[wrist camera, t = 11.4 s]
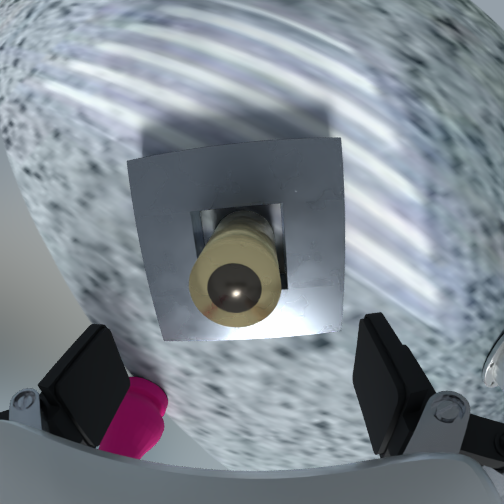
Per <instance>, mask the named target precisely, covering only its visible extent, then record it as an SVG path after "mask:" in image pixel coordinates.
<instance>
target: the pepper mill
mask: <svg viewBox="0 0 504 504" xmlns="http://www.w3.org/2000/svg"><path fill="white" fill-rule="evenodd" d="M129 379H130V387H129V389H128V391H127V393H126V395H125V397H124V399H123V401H122V403H121V404H120V406H119V408H118V410H117V412H116V414H115V416H114V418H113V420H112V422H111V424H110V426H109V427H108V429H107V431H106V433H105V435H104V437H103V439H102V441H101V443H100V447H99V450H102V451H106V452H110V453H114V454H118V455H122V456H126V457H131V458H135V459H141V457H142V456H143V455H144V454H145V453H146V452H147V451H149V450H150V449H151V448H152V447H153V446H154V445H155V444H156V443H157V442H158V441H159V439H160V437H161V436H162V433H163V431H164V421H163V418H162V417H163V416H164V414H165V411H166V408H167V405H168V399H167V397H166V394H165V393H164V392H163V390H162V389H161V388H160V387H158V386H157V385H156V384H154V383H153V382H151V381H149V380H146V379H144V378H140V377H129Z"/></svg>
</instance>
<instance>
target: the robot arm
mask: <svg viewBox="0 0 504 504" xmlns="http://www.w3.org/2000/svg"><path fill="white" fill-rule="evenodd" d="M482 380H483V382H484V383H485V385H486V386H487V387H496V386H500V388H501V389H502V390H503V391H504V334H503V335H502V337H501V338H500V339H499V341H498V342H497V343H496V345H495V346H494V348H493V349H492V351H491V353H490V355H489V357H488V358H487V361H486V363H485V366H484V369H483V373H482ZM353 385H354V388H355V391H356V394H357V397H358V401H359V404H360V407H361V410H362V414H363V417H364V420H365V423H366V427H367V430H368V434H369V437H370V441H371V444H372V448H373V451H374V453H375V454H376V455H377V454H380V459H374V460H368V461H362V462H356V463H350V464H343V465H336V466H328V467H319V468H308V469H296V470H278V471H231V470H213V469H201V468H191V467H183V466H175V465H167V464H162V463H155V462H150V461H145V460H140V459H135V458H131V457H126V456H122V455H118V454H114V453H110V452H106V451H102V450H99V449H95V448H96V446H99V445H100V443H101V441H102V439H103V437H104V435H105V433H106V431H107V429H108V427H109V426H110V424H111V422H112V420H113V418H114V416H115V414H116V412H117V410H118V408H119V406H120V404H121V403H122V401H123V399H124V397H125V395H126V393H127V391H128V389H129V387H130V379H129V377H128V374H127V372H126V369H125V367H124V364H123V362H122V360H121V357H120V355H119V352H118V349H117V347H116V344H115V342H114V339H113V336H112V333H111V331H110V329H108V328H107V327H106V326H105V325H102V324H91V325H90V326H89V327H88V328H87V329H86V330H85V331H84V333H83V334H82V335H81V336H80V337H79V338H78V339H77V340H76V341H75V342H74V343H73V345H72V346H71V347H70V348H69V349H68V350H67V351H66V353H65V354H64V355H63V356H62V357H61V358H60V359H59V361H58V362H57V363H56V364H55V365H54V366H53V367H52V369H51V370H50V371H49V372H48V373H47V374H46V376H45V377H44V378H43V379H42V380H41V381H40V383H39V384H38V386H39V388H40V390H41V391H42V392H41V393H40V394H39V393H38V392H37V390H35V389H33V388H26V389H22V390H20V391H19V392H17V393H16V394H15V395H14V396H13V397H12V399H11V401H10V406H9V410H6V411H3V412H0V504H504V423H500V422H497V421H493V420H490V419H486V418H483V417H479V416H476V415H473V414H470V405H469V402H468V401H467V400H466V398H465V397H463V396H462V395H461V394H459V393H456V392H453V391H441V392H438V393H436V392H435V390H434V388H433V387H432V385H431V383H430V382H429V380H428V378H427V377H426V375H425V373H424V372H423V370H422V368H421V367H420V365H419V364H418V362H417V360H416V359H415V357H414V356H413V354H412V352H411V351H410V349H409V348H408V347H407V345H402V343H401V342H400V340H399V339H398V337H397V335H396V334H395V332H394V331H393V329H392V328H391V326H390V325H389V323H388V321H387V320H386V318H385V317H384V315H383V314H382V313H381V312H379V313H372V314H366V315H365V317H364V319H360V322H359V331H358V340H357V348H356V356H355V363H354V370H353Z"/></svg>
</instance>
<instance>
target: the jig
mask: <svg viewBox="0 0 504 504" xmlns="http://www.w3.org/2000/svg"><path fill="white" fill-rule="evenodd" d="M127 167H128V175H129V182H130V189H131V196H132V203H133V209H134V215H135V221H136V226H137V232H138V237H139V242H140V247H141V252H142V257H143V262H144V266H145V271H146V275H147V279H148V284H149V288H150V292H151V296H152V300H153V304H154V307H155V311H156V315H157V319H158V322H159V326H160V329H161V333H162V336H163V340H164V341H215V340H241V339H259V338H274V337H287V336H298V335H309V334H319V333H328V332H336V331H341V329H342V315H343V297H344V270H345V204H344V178H343V160H342V146H341V138H300V139H282V140H267V141H255V142H244V143H235V144H226V145H217V146H210V147H202V148H195V149H188V150H182V151H176V152H170V153H164V154H159V155H153V156H148V157H143V158H138V159H133V160H129V161H127ZM277 203H281V216H282V231H283V246H284V263H285V274H280V279H281V295H280V299H279V302H278V304H277V306H276V307H275V309H274V310H273V312H272V313H271V314H270V315H269V316H268V317H267V318H265V319H264V320H262V321H261V322H259V323H257V324H254V325H251V326H247V327H240V328H236V327H227V326H223V325H220V324H217V323H215V322H213V321H211V320H210V319H208V318H207V317H205V316H204V315H203V314H202V313H201V312H200V311H199V310H198V308H197V307H196V306H195V304H194V302H193V300H192V298H191V295H190V291H189V277H190V273H191V270H192V268H193V266H194V264H195V262H196V261H197V259H198V257H199V256H200V254H201V252H202V251H203V249H204V247H205V245H204V238H203V231H202V224H201V216H200V210H210V209H220V208H230V207H241V206H252V205H264V204H277Z"/></svg>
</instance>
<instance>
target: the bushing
mask: <svg viewBox="0 0 504 504" xmlns="http://www.w3.org/2000/svg"><path fill="white" fill-rule="evenodd" d="M189 291H190V295H191V298H192V300H193V302H194V304H195V306H196V307H197V308H198V310H199V311H200V312H201V313H202V314H203V315H204V316H205V317H207V318H208V319H210V320H211V321H213V322H215V323H217V324H220V325H223V326H227V327H236V328H240V327H247V326H251V325H254V324H257V323H259V322H261V321H262V320H264V319H265V318H267V317H268V316H269V315H270V314H271V313H272V312H273V310H274V309H275V307H276V306H277V304H278V302H279V299H280V295H281V279H280V273H279V266H278V259H277V253H276V246H275V240H274V233H273V230H272V228H271V226H270V224H269V223H268V221H267V220H266V219H265V218H264V217H262V216H261V215H259V214H258V213H255V212H252V211H247V210H241V211H236V212H233V213H230V214H229V215H227V216H226V217H224V218H223V219H222V220H221V222H220V223H219V225H218V226H217V228H216V229H215V231H214V233H213V234H212V236H211V237H210V239H209V241H208V242H207V244H206V246H205V247H204V249H203V251H202V252H201V254H200V256H199V257H198V259H197V261H196V262H195V264H194V266H193V268H192V270H191V273H190V277H189Z"/></svg>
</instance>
